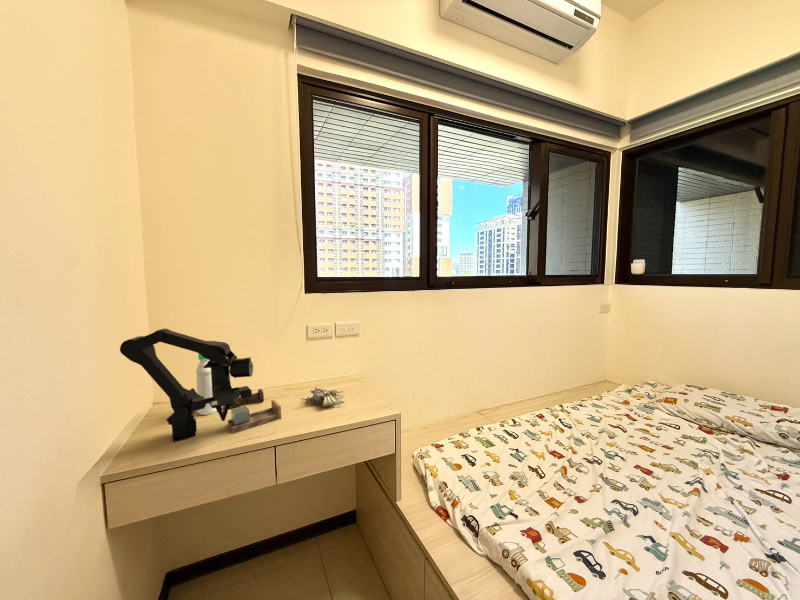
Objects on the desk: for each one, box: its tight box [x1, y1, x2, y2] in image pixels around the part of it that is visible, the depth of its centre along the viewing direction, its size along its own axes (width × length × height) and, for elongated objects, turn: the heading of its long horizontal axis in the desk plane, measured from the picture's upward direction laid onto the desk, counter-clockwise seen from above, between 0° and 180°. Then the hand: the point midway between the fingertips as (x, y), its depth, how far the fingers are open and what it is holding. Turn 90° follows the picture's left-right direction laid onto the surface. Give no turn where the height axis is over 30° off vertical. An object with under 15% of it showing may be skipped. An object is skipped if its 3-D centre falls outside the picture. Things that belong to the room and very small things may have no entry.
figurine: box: [299, 386, 346, 407], centre depth 133 cm, size 20×6×17 cm
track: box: [227, 399, 282, 434], centre depth 117 cm, size 17×8×5 cm, turn 131°
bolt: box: [229, 388, 265, 409], centre depth 133 cm, size 6×5×15 cm
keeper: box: [230, 405, 251, 426], centre depth 114 cm, size 5×5×5 cm
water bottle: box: [195, 353, 218, 416], centre depth 125 cm, size 7×7×25 cm
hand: (223, 420), depth 110 cm, fingers closed
